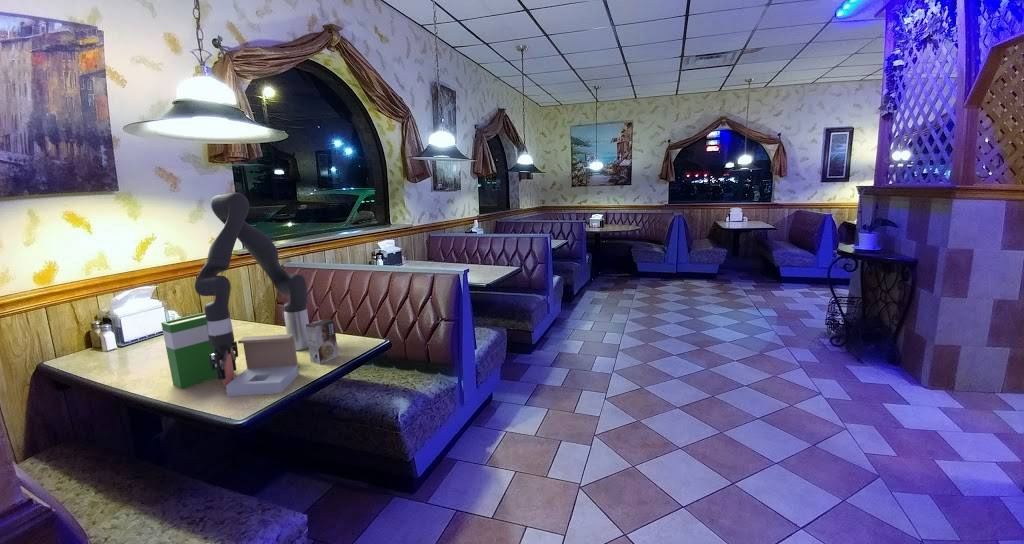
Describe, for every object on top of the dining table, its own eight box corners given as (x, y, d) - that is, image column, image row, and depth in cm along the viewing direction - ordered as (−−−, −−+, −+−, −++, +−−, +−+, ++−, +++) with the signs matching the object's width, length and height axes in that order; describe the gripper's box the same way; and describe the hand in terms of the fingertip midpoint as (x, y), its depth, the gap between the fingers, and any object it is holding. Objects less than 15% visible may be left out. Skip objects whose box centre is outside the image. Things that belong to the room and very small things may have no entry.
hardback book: (224, 368, 185) (214, 310, 180) (233, 371, 181) (223, 312, 176) (173, 384, 171) (161, 322, 166) (181, 389, 166) (169, 325, 162)
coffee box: (328, 354, 195) (324, 317, 192) (339, 357, 192) (334, 319, 189) (309, 362, 188) (304, 324, 184) (320, 364, 184) (315, 326, 181)
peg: (226, 383, 169) (221, 352, 167) (238, 383, 170) (233, 352, 167) (220, 388, 166) (215, 357, 163) (232, 387, 166) (227, 356, 163)
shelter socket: (250, 377, 175) (243, 336, 172) (299, 374, 176) (293, 334, 173) (227, 396, 159) (220, 352, 156) (281, 393, 160) (275, 349, 157)
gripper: (220, 325, 170) (227, 367, 174) (197, 338, 156) (205, 384, 160) (241, 324, 171) (248, 366, 174) (220, 337, 157) (227, 382, 160)
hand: (227, 374), depth 167 cm, fingers open, 7 cm apart
